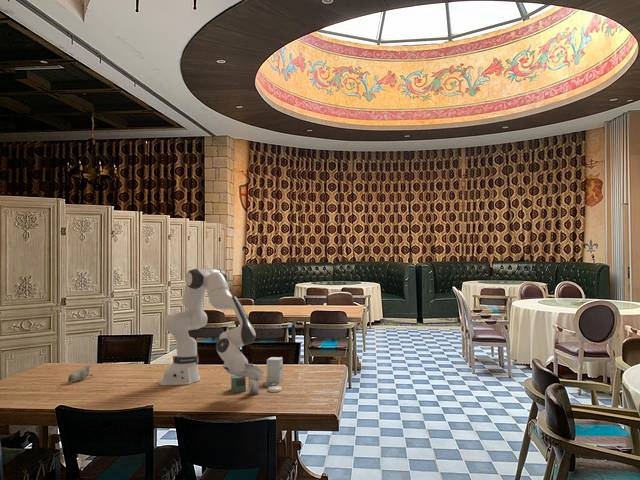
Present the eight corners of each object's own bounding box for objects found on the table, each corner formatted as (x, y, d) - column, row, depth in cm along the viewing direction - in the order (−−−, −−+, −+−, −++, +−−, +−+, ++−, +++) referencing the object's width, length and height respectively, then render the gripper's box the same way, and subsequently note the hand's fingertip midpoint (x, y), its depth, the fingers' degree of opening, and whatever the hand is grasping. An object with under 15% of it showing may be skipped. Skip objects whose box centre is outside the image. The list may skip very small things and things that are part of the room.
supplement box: (279, 383, 275) (279, 359, 275) (266, 382, 276) (266, 359, 277) (283, 379, 282) (283, 357, 282) (270, 379, 284) (270, 356, 284)
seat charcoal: (264, 388, 265) (264, 386, 265) (262, 384, 272) (262, 382, 272) (277, 387, 267) (277, 384, 267) (275, 383, 274) (275, 381, 274)
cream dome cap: (269, 392, 257) (269, 390, 257) (267, 389, 264) (267, 386, 264) (282, 391, 259) (282, 389, 259) (280, 388, 265) (280, 385, 265)
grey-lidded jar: (249, 395, 253) (248, 373, 254) (248, 392, 258) (247, 370, 259) (259, 394, 255) (259, 372, 255) (258, 391, 260) (258, 370, 260)
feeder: (232, 392, 259) (231, 378, 259) (231, 389, 266) (230, 375, 266) (245, 391, 261) (245, 377, 261) (244, 387, 267) (244, 374, 267)
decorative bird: (65, 384, 284) (65, 371, 284) (86, 377, 299) (86, 364, 299) (73, 385, 282) (72, 371, 282) (94, 378, 297) (94, 365, 298)
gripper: (258, 359, 244) (270, 375, 252) (225, 356, 254) (238, 371, 262) (252, 371, 240) (265, 386, 248) (219, 367, 250) (233, 382, 258)
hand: (251, 378), depth 255 cm, fingers open, 8 cm apart
